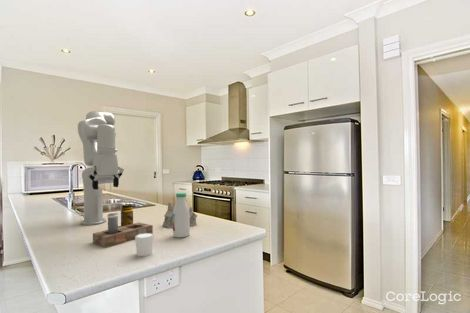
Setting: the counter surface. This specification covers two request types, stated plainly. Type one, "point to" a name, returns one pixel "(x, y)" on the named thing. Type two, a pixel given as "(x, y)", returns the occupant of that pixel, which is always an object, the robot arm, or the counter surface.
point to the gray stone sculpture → (169, 217)
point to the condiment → (126, 215)
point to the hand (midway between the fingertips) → (105, 188)
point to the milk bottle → (181, 217)
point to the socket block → (121, 234)
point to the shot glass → (144, 244)
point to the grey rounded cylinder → (112, 223)
